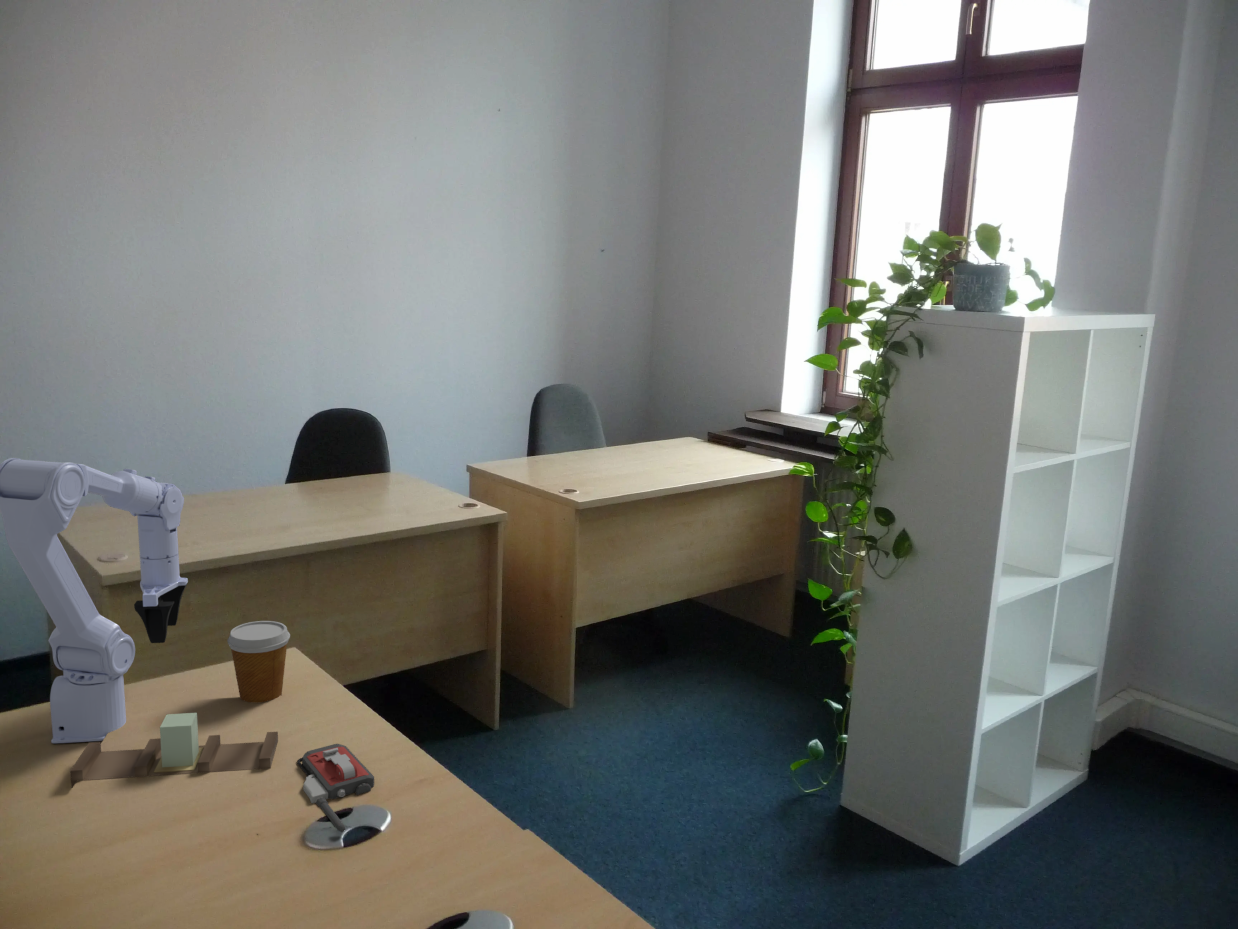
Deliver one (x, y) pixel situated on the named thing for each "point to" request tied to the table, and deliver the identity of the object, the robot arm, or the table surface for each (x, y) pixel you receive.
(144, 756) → the notch rail
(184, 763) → the sage block
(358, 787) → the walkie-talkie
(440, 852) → the table surface
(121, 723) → the robot arm
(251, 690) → the disposable coffee cup
